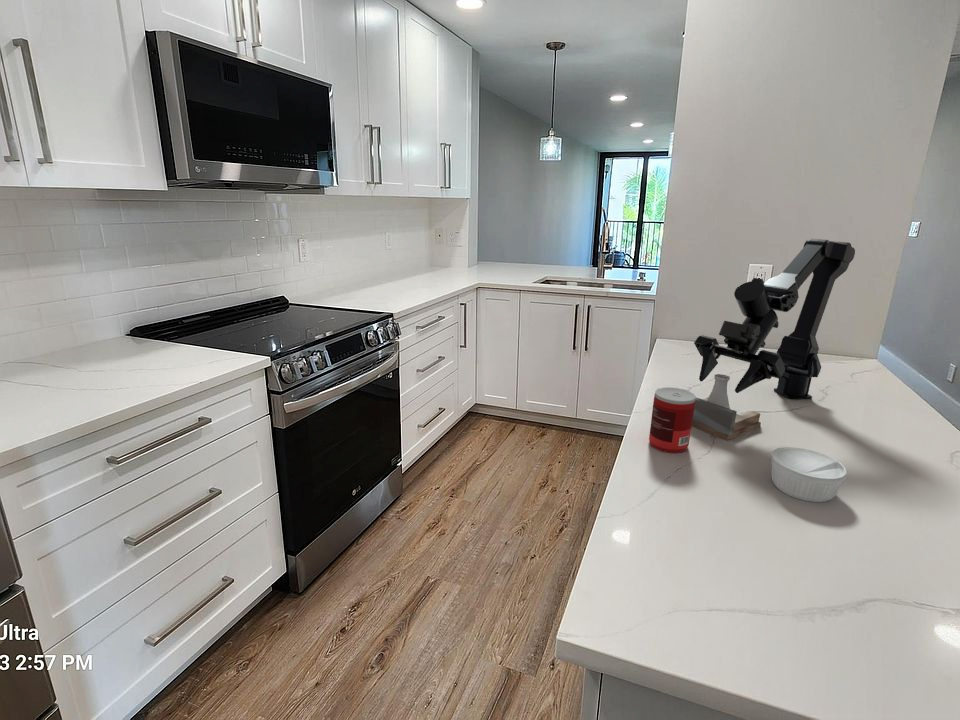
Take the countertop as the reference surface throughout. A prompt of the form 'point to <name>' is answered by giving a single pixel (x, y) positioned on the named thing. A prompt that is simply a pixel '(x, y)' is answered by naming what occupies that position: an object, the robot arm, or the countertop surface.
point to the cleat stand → (722, 420)
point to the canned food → (672, 419)
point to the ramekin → (806, 474)
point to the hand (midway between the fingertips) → (717, 385)
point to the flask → (720, 391)
